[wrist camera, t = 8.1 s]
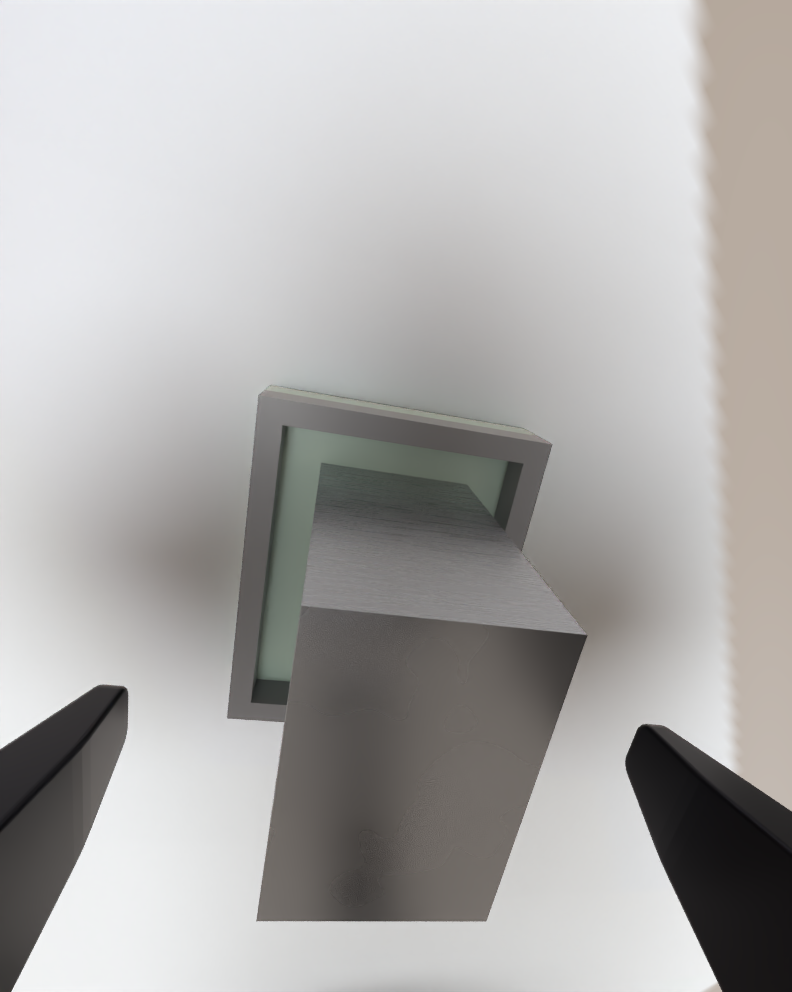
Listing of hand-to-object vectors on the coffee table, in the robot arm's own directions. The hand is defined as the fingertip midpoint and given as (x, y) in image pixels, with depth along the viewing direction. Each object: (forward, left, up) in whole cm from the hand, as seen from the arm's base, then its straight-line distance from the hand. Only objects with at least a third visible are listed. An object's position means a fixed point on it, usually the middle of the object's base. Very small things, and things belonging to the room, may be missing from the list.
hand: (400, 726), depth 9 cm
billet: (0, 0, -6) cm, 6 cm away
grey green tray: (0, 0, -7) cm, 7 cm away
